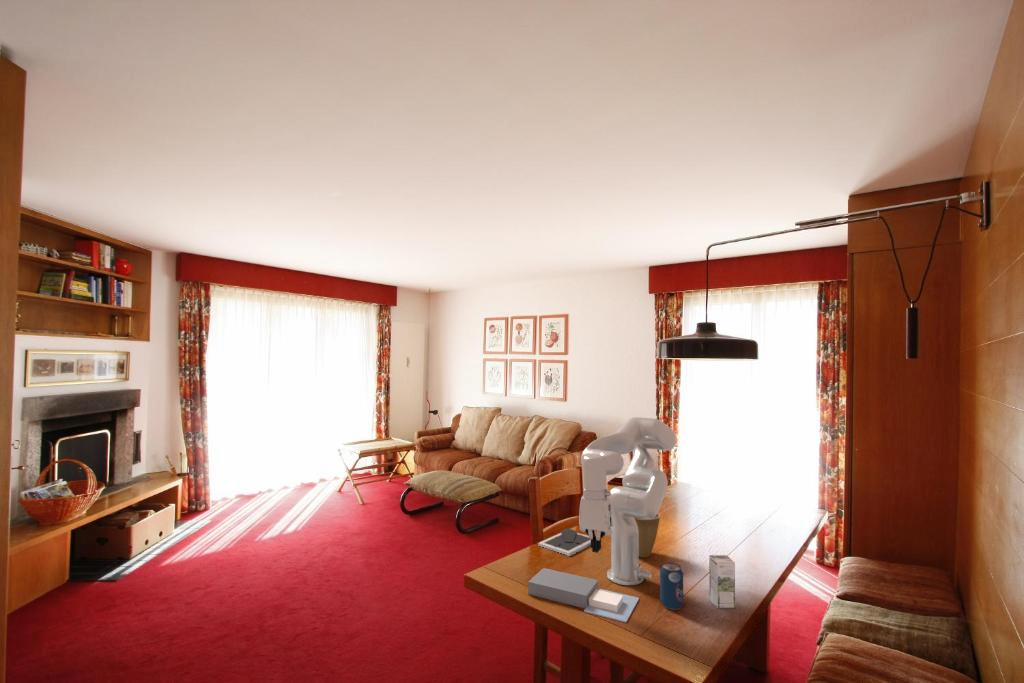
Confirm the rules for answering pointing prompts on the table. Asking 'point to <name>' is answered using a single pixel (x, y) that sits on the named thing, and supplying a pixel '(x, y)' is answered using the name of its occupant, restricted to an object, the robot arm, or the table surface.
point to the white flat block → (606, 600)
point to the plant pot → (647, 534)
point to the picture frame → (567, 542)
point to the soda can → (671, 586)
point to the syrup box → (722, 581)
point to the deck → (562, 587)
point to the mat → (622, 613)
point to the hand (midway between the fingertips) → (596, 550)
